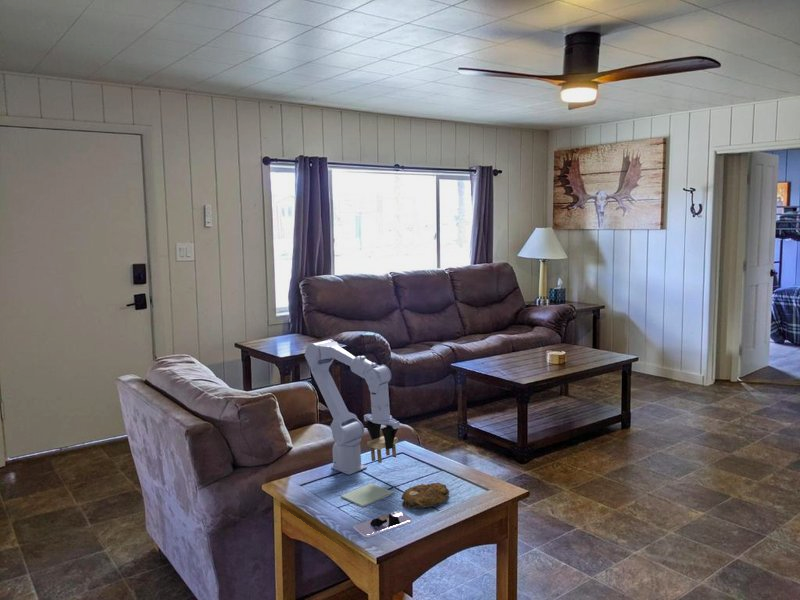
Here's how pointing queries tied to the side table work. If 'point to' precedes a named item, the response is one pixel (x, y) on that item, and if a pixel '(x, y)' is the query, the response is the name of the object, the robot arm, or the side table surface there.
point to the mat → (367, 494)
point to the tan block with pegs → (379, 445)
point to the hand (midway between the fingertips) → (383, 446)
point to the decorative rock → (425, 495)
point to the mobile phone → (382, 524)
